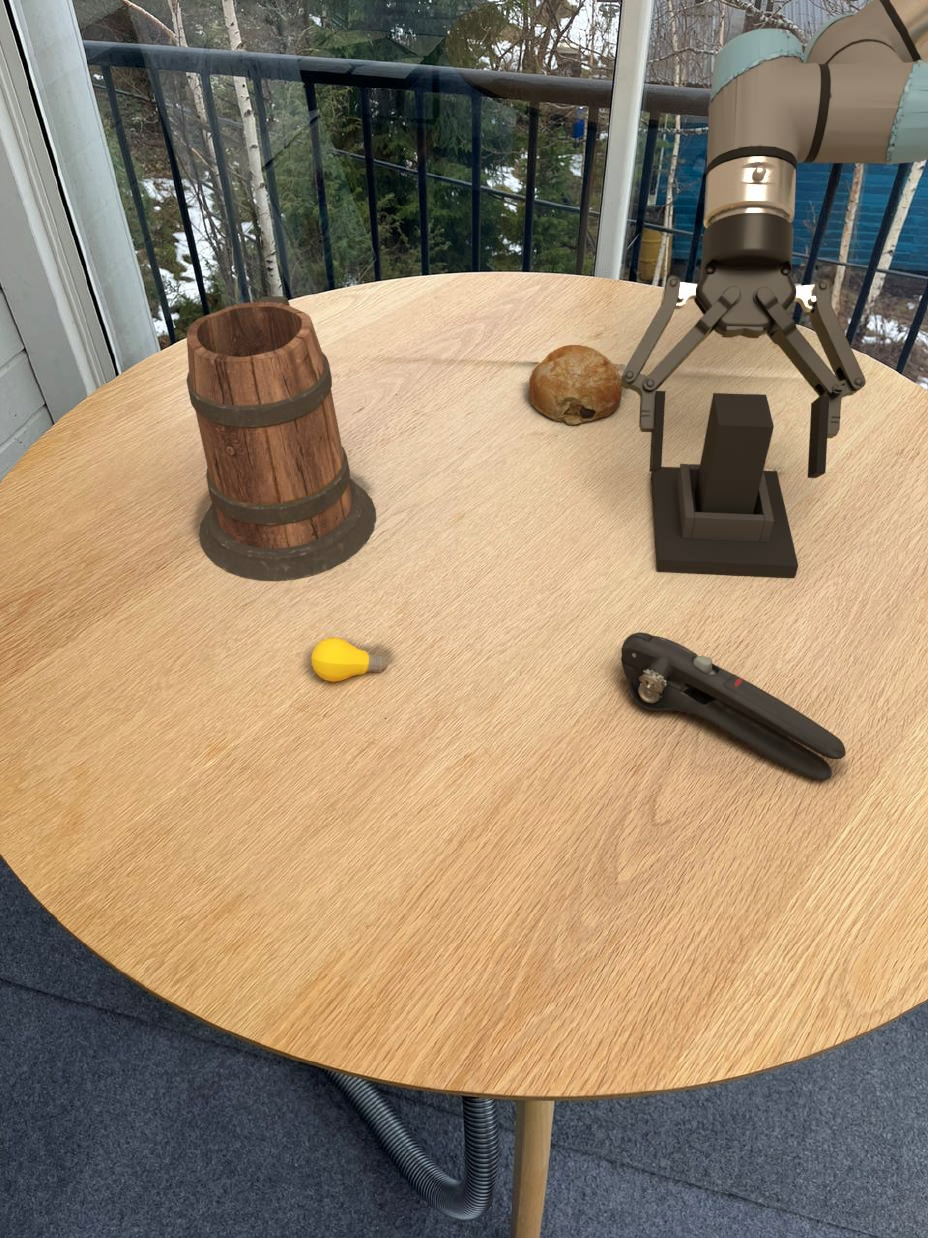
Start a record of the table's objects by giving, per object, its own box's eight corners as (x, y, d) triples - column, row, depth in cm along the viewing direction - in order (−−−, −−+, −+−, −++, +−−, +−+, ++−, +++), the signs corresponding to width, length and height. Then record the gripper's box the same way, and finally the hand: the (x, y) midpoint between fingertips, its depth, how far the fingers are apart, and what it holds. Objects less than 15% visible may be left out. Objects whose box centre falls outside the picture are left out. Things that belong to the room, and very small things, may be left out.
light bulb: (307, 666, 76) (313, 627, 75) (380, 673, 78) (387, 635, 76) (309, 687, 73) (315, 647, 72) (384, 694, 75) (392, 655, 73)
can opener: (597, 694, 73) (602, 645, 70) (645, 644, 77) (653, 594, 73) (810, 816, 65) (830, 767, 61) (852, 753, 69) (874, 703, 65)
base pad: (773, 483, 92) (782, 448, 90) (795, 578, 82) (805, 543, 80) (650, 478, 93) (655, 444, 91) (656, 572, 83) (662, 537, 81)
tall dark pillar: (743, 496, 88) (766, 394, 81) (749, 530, 85) (774, 426, 77) (694, 495, 89) (713, 392, 81) (698, 528, 85) (718, 424, 78)
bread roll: (535, 450, 104) (546, 409, 96) (515, 372, 107) (524, 327, 99) (621, 437, 105) (638, 396, 97) (599, 361, 108) (614, 315, 101)
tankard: (370, 578, 84) (344, 378, 70) (182, 583, 84) (119, 384, 70) (384, 431, 101) (366, 246, 87) (227, 435, 101) (183, 252, 87)
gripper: (604, 205, 78) (591, 459, 78) (914, 209, 76) (901, 470, 76) (599, 242, 86) (587, 473, 86) (882, 246, 84) (869, 484, 83)
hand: (735, 473), depth 81 cm, fingers open, 13 cm apart
